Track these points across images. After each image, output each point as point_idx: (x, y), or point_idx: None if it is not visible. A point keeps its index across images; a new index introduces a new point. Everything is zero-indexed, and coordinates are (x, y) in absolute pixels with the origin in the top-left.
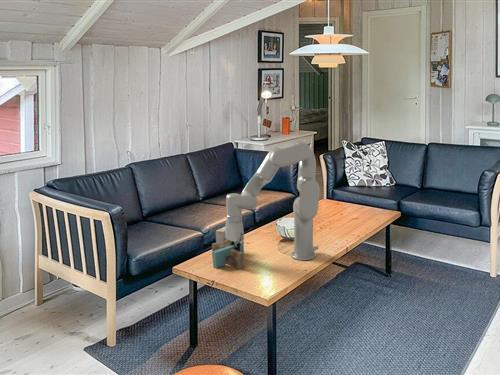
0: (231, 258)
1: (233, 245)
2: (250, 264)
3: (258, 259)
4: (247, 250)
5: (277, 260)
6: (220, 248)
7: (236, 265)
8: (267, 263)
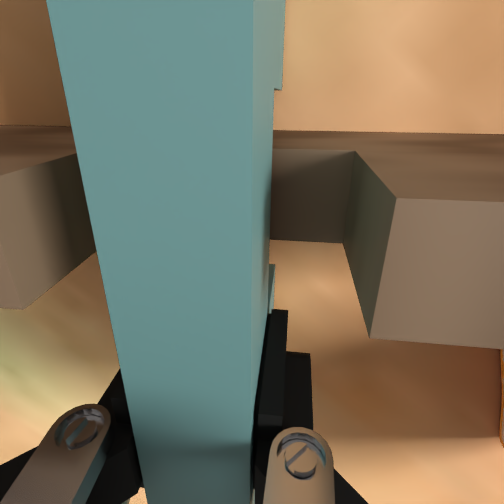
0: (56, 143)
1: (195, 444)
2: (66, 303)
3: None
4: (367, 495)
5: None
6: (431, 185)
7: (6, 130)
8: (16, 393)
